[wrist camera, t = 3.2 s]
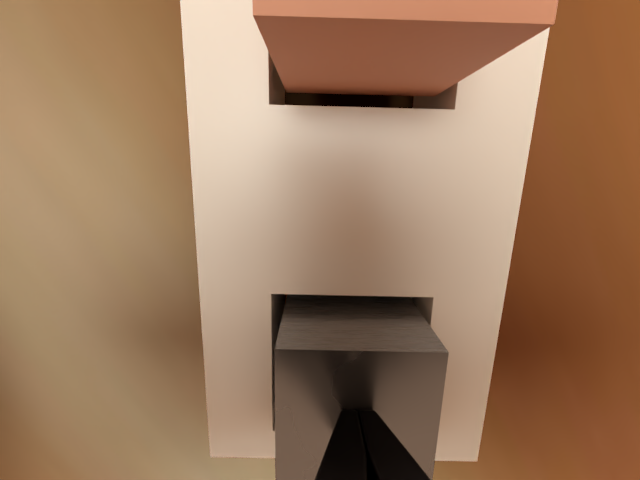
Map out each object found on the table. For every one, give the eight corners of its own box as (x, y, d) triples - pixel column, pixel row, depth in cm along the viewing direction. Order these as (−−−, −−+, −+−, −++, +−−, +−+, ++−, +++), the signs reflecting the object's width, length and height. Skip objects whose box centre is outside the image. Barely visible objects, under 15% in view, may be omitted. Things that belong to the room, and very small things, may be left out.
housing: (434, 382, 15) (476, 461, 11) (239, 379, 15) (210, 457, 11) (488, -54, 11) (583, -178, 7) (222, -63, 11) (167, -193, 7)
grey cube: (391, 377, 13) (430, 490, 8) (290, 375, 13) (275, 488, 8) (400, 282, 12) (448, 352, 7) (291, 280, 12) (274, 349, 7)
